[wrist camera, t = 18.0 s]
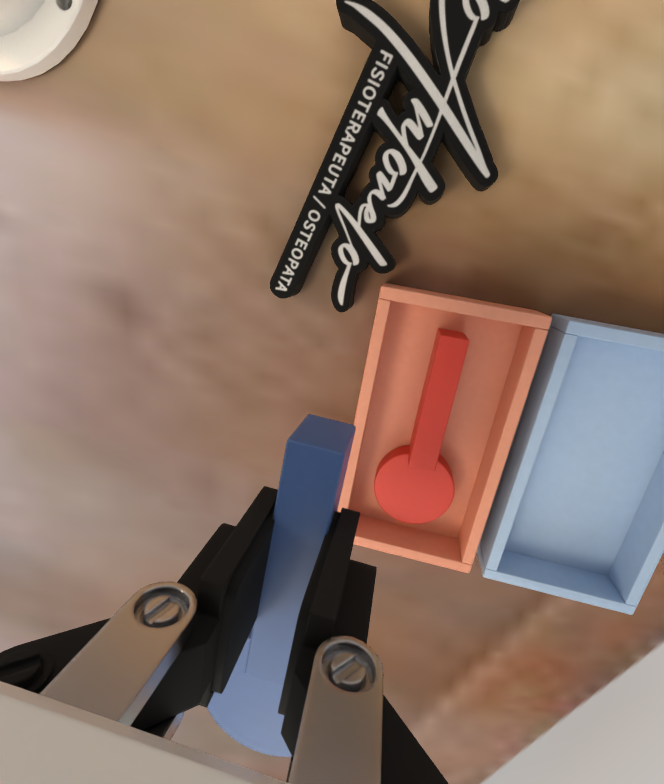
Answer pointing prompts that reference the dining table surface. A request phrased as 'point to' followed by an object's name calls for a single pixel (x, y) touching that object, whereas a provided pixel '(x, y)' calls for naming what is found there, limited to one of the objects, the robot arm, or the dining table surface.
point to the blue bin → (584, 470)
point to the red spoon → (425, 442)
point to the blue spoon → (285, 582)
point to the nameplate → (394, 138)
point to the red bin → (466, 421)
